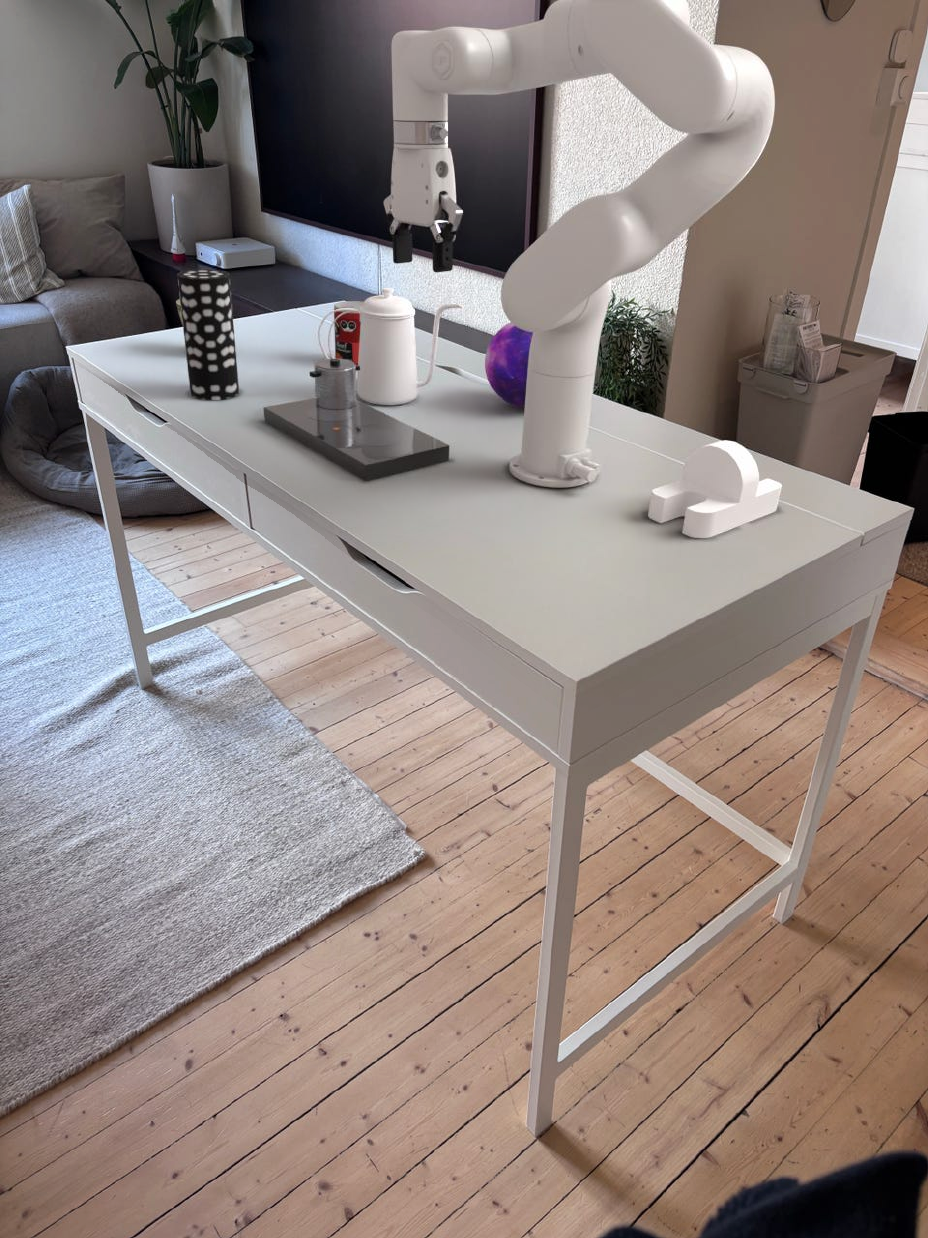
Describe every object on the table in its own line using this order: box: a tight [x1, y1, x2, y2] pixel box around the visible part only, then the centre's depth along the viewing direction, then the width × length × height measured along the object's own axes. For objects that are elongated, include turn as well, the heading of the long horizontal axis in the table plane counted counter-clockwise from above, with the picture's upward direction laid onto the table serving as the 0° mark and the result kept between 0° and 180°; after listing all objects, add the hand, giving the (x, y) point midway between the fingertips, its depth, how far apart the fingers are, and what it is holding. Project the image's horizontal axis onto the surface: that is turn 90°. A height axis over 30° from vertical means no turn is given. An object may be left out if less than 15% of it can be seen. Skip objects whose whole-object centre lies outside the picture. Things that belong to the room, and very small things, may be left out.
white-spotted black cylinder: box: [177, 268, 240, 401], centre depth 159 cm, size 8×8×20 cm
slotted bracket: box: [647, 439, 783, 539], centre depth 126 cm, size 18×10×10 cm, turn 129°
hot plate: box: [263, 397, 450, 482], centre depth 146 cm, size 30×15×2 cm, turn 39°
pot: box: [309, 358, 360, 410], centre depth 153 cm, size 7×9×7 cm
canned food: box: [333, 300, 364, 365], centre depth 182 cm, size 8×8×11 cm
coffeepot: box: [317, 286, 465, 406], centre depth 162 cm, size 11×25×19 cm, turn 84°
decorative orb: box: [484, 321, 533, 408], centre depth 162 cm, size 15×15×15 cm
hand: (422, 266), depth 137 cm, fingers open, 9 cm apart
